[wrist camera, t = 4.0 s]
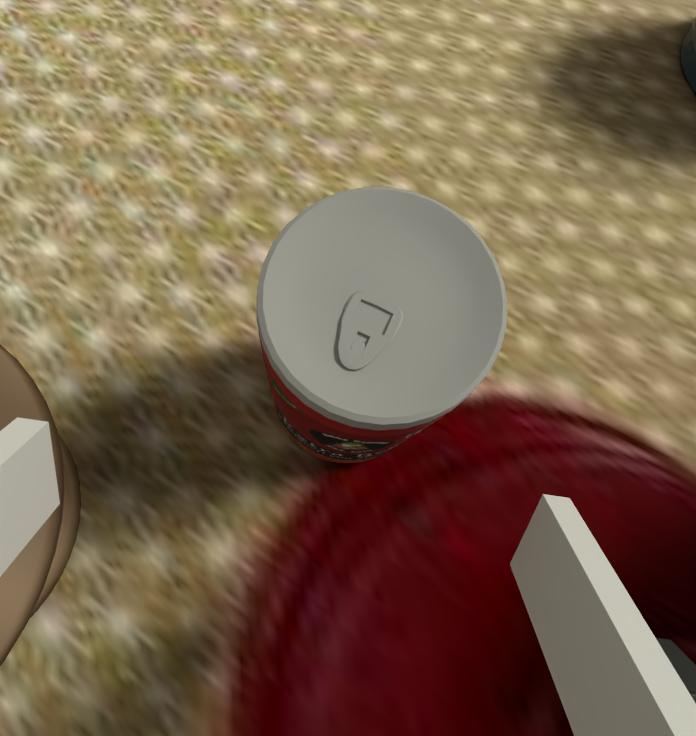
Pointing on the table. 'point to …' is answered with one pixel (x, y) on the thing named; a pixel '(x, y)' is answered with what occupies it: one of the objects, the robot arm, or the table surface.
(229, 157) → the table surface
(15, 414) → the cake stand
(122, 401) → the table surface
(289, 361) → the canned food
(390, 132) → the table surface
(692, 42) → the canister
